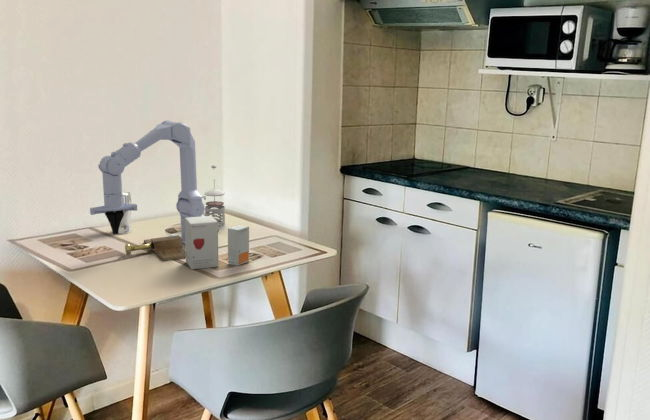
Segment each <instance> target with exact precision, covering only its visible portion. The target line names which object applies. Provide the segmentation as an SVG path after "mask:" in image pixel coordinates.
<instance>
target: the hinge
mask: <svg viewBox="0 0 650 420" xmlns="http://www.w3.org/2000/svg"><path fill="white" fill-rule="evenodd" d="M150 243H154V248H152V249H150V251H152V252H153V253H154V254H155V255H156V256H157V257H158V258H159V259H161V260H162V261H163V262H167V261H171V260H172V261H173V259H174V260H179V259H186V249H184V248H183V243H182V238H181V235H178V234H177V235H172V236H171V235H169V236H161V237H155V238H154V237H153V238H149V239H143V244H150ZM166 260H167V261H166Z"/></svg>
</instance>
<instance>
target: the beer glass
mask: <svg viewBox="0 0 650 420" xmlns="http://www.w3.org/2000/svg"><path fill="white" fill-rule="evenodd" d="M122 197H123V204H133V203H132V196H131V192H129V191H122ZM123 213H124V216H123V218H122V220H121V223H120V226H119V231H118V234H117V235H124V234H130V233H132V232H133V231H132V224H131V216H132V211H123Z"/></svg>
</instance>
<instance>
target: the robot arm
mask: <svg viewBox="0 0 650 420" xmlns="http://www.w3.org/2000/svg"><path fill="white" fill-rule="evenodd" d="M159 141H170V142H172V143H173V144H175V146H177V147H178V148H179V163H180V168H179V169H180V186H181V188H180V189H181V191H180V192H179V193H178V194H177V202H176V206H175V209H176V210H177V212H178V213H179V216H180V237H181V238H182V244H184V245H185V218H187V217H201V216H203V214H204V213H205V208H206V206H205V204H204V202H203V198H202V197H203V196H202V195H201V194H200V192H199V191H198V183H197V182H198V180H197V158H196V157H197V156H196V155H197V154H196V152H197V151H196V140H195V139H194V137H193V135H192V133H191V128H190V126H188V125H187V124H186V123H184V122H182V121H180V122H177V121H171V120H164V121H162V122H161V123H159V124H156V126H155V127H154V128H153V129H151V130H150V131H149V132H147V133H146V134H145V135H144V136H142V137H141V138H140V139H138V140H137V141H135V142H134V143H133V142H124V143H123V144H122V146H121V147H120V148H119V149H117V150H115V151H112V152H110V155H105V156H103V157H102V158H101V159H100V161H99V163H98V166H97V167H98V169H99V170H100V172H101V173H102V189H103V190H102V191H103V203H104V204H103V205H100V206H96V207H95V206H93V207H89V214H90V215H92V216H94V215H98V214H99V215H100V214H104V215H105V217H106V218H107V220H108V223H109V225H110V227H111V233H112V234H113V235H119V234H118V231H119V226H120V223H121V220H122V218H123V216H124V213H123V211H131V212H132V211H135V212H136V211H138V204H136V203H132V204H123V197H122V192H123V185H122V184H123V183H122V182H123V181H122V173H124V170H125V168H126V167H127V166H129V165H130V164H132V163H133V162H134V161H136V160H138V159H139V158H140V157H141V154H142V152H143V151H145V150H146V149H148V148H150V147H151V146H152V145H154V144H156V143H157V142H159Z"/></svg>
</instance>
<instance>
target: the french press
mask: <svg viewBox="0 0 650 420" xmlns="http://www.w3.org/2000/svg"><path fill="white" fill-rule="evenodd" d="M211 169H217V165H215V164H212V165H211ZM215 182H216V180H213V186H214V187H213V189H209V190H207V191H205V192H204V193H203V196H201V197H202V199H203V200H204V201H206V200H207V197H213V198H214V200H212V201H211V200H210V201H206V202H205V205H206V206H205V209H204V213H203V214H202V216H212V217H213V218H214V219H215V220H216V221H217V222H218V231H219V230H224V229H228V225H227V224H226V221H225V220H226V216H225V215H226V212H225V210H226V209H225V208H226V207H225V206H224V204H225V202H223V201H219V200H218V201H216V197H221V196H224V195H225V193H226V192H224V191H223V190H221V189H217V188H215ZM206 196H207V197H206Z"/></svg>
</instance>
